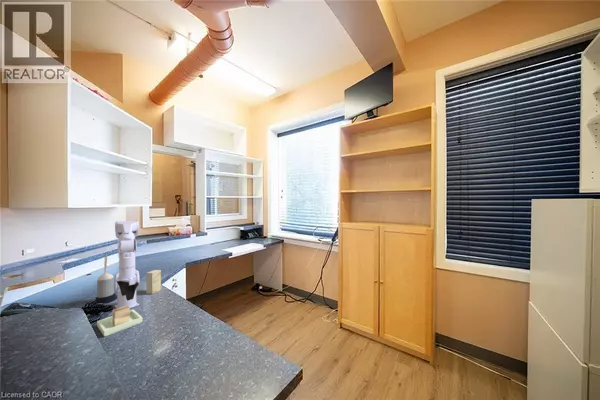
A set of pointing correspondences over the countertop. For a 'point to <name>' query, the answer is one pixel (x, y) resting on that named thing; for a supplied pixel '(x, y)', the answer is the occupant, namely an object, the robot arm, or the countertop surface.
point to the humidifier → (105, 286)
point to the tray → (109, 328)
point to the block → (121, 315)
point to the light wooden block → (153, 281)
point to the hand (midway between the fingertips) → (127, 297)
